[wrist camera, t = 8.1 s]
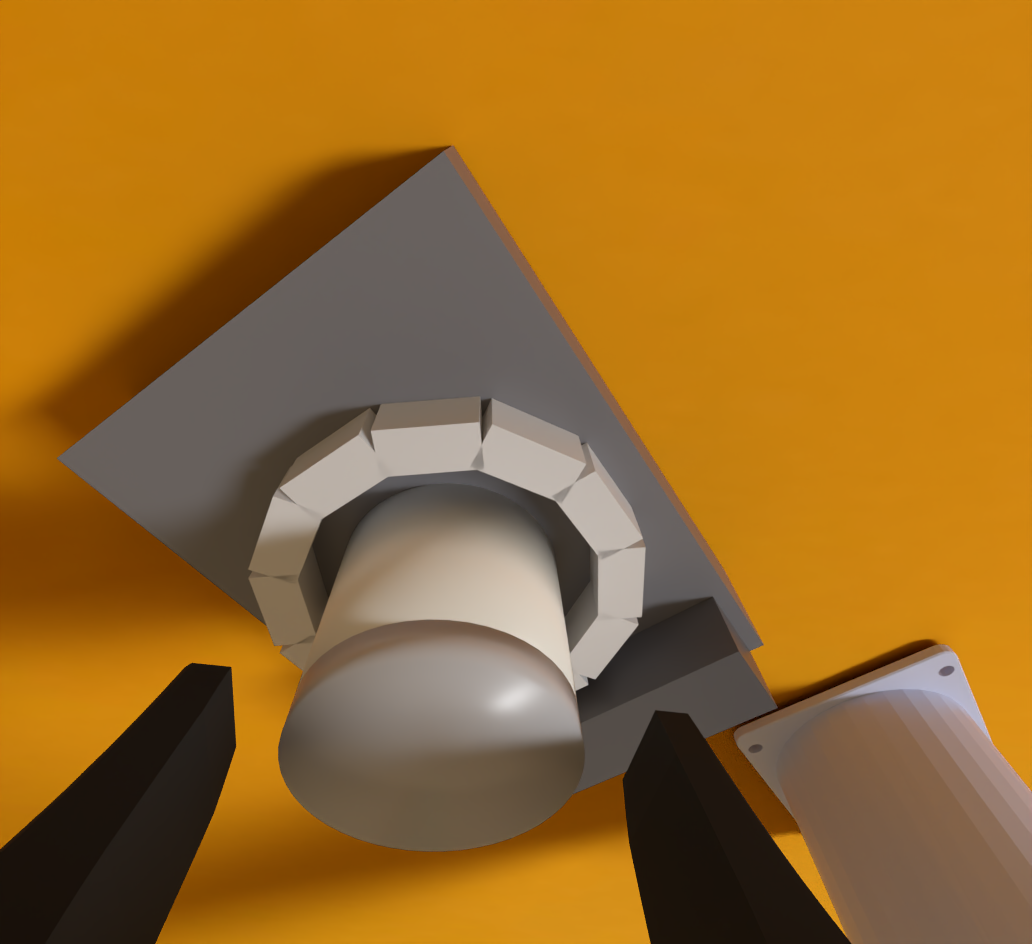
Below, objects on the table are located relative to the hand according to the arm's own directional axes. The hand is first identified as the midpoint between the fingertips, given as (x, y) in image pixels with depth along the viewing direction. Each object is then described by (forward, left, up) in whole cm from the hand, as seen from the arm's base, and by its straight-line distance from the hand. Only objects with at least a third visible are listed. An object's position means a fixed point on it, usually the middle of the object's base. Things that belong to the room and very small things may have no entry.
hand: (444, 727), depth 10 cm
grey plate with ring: (0, 0, -7) cm, 7 cm away
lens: (0, 0, -4) cm, 4 cm away
